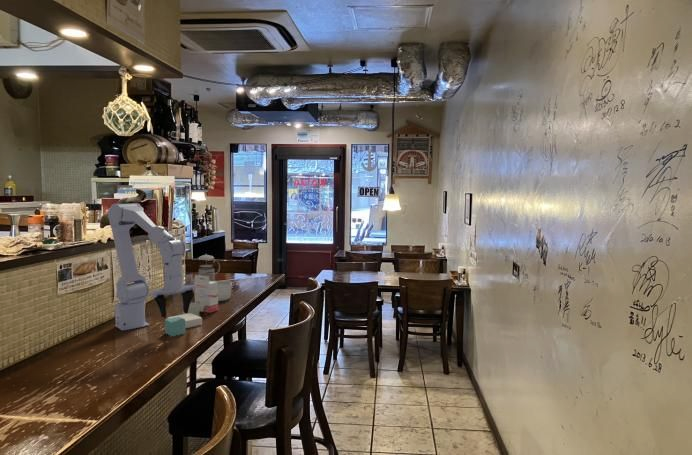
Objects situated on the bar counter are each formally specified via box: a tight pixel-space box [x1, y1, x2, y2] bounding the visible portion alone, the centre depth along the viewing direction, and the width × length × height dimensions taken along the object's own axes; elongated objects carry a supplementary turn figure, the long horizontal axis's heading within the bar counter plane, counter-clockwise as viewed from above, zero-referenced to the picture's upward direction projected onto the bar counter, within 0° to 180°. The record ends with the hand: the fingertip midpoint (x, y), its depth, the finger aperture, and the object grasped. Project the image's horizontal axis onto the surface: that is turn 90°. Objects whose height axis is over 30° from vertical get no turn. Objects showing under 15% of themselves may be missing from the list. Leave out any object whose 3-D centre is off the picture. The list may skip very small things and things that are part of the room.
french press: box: [197, 235, 221, 281], centre depth 244 cm, size 10×12×25 cm
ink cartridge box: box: [193, 274, 219, 314], centre depth 192 cm, size 9×5×15 cm, turn 62°
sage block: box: [182, 302, 200, 317], centre depth 185 cm, size 4×4×4 cm
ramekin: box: [211, 280, 233, 302], centre depth 213 cm, size 13×13×7 cm
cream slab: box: [167, 313, 203, 329], centre depth 173 cm, size 9×9×3 cm
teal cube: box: [164, 317, 186, 337], centre depth 163 cm, size 5×5×5 cm
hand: (174, 314), depth 162 cm, fingers open, 7 cm apart
